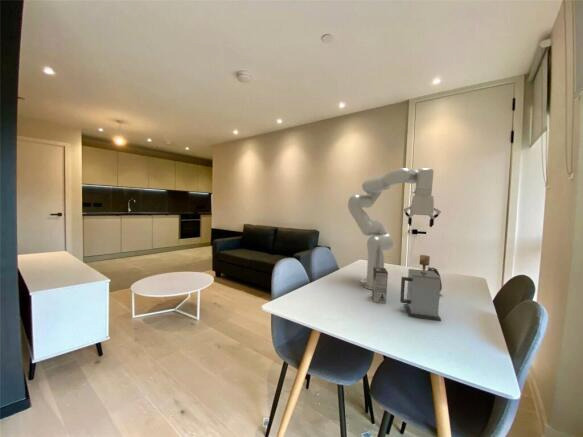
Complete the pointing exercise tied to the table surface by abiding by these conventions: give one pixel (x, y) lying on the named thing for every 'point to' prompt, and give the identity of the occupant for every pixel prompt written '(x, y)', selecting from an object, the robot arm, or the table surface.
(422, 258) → the plunger
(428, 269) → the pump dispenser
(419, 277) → the press
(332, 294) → the table surface
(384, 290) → the coffee box
